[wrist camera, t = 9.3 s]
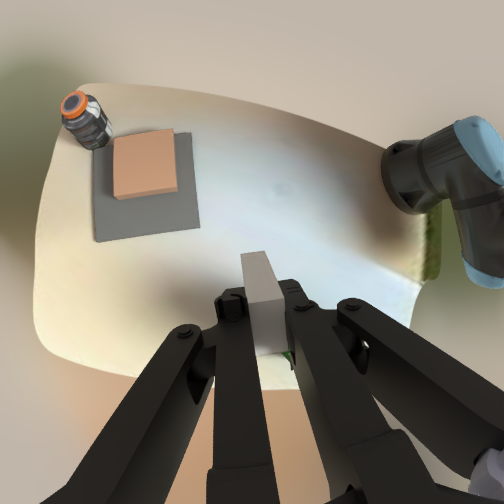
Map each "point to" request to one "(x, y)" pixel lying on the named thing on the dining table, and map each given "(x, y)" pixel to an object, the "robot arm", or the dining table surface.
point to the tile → (144, 164)
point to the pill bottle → (85, 120)
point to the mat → (145, 199)
